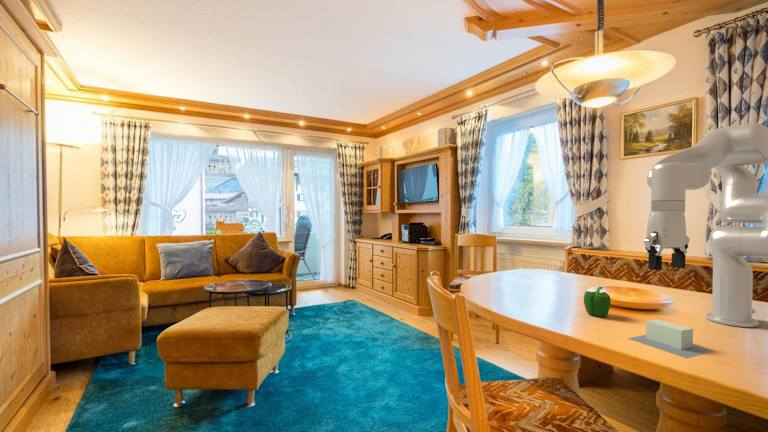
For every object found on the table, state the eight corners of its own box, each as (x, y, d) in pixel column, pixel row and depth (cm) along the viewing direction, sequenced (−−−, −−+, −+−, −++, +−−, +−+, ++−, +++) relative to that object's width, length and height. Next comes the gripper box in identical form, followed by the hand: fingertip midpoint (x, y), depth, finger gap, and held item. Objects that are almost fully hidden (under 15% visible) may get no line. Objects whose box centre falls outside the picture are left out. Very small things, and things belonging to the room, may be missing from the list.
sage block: (657, 335, 106) (657, 319, 106) (692, 346, 98) (693, 328, 98) (646, 338, 105) (646, 321, 105) (681, 349, 96) (681, 330, 96)
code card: (654, 333, 109) (654, 332, 109) (715, 351, 95) (715, 351, 95) (627, 339, 105) (627, 338, 105) (686, 359, 91) (686, 358, 91)
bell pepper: (596, 319, 123) (596, 290, 122) (578, 312, 131) (579, 285, 131) (617, 317, 124) (617, 289, 124) (598, 311, 132) (599, 284, 132)
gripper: (673, 207, 107) (672, 265, 107) (632, 207, 101) (631, 268, 102) (703, 207, 100) (702, 269, 100) (661, 207, 94) (660, 272, 94)
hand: (666, 268), depth 101 cm, fingers open, 9 cm apart
